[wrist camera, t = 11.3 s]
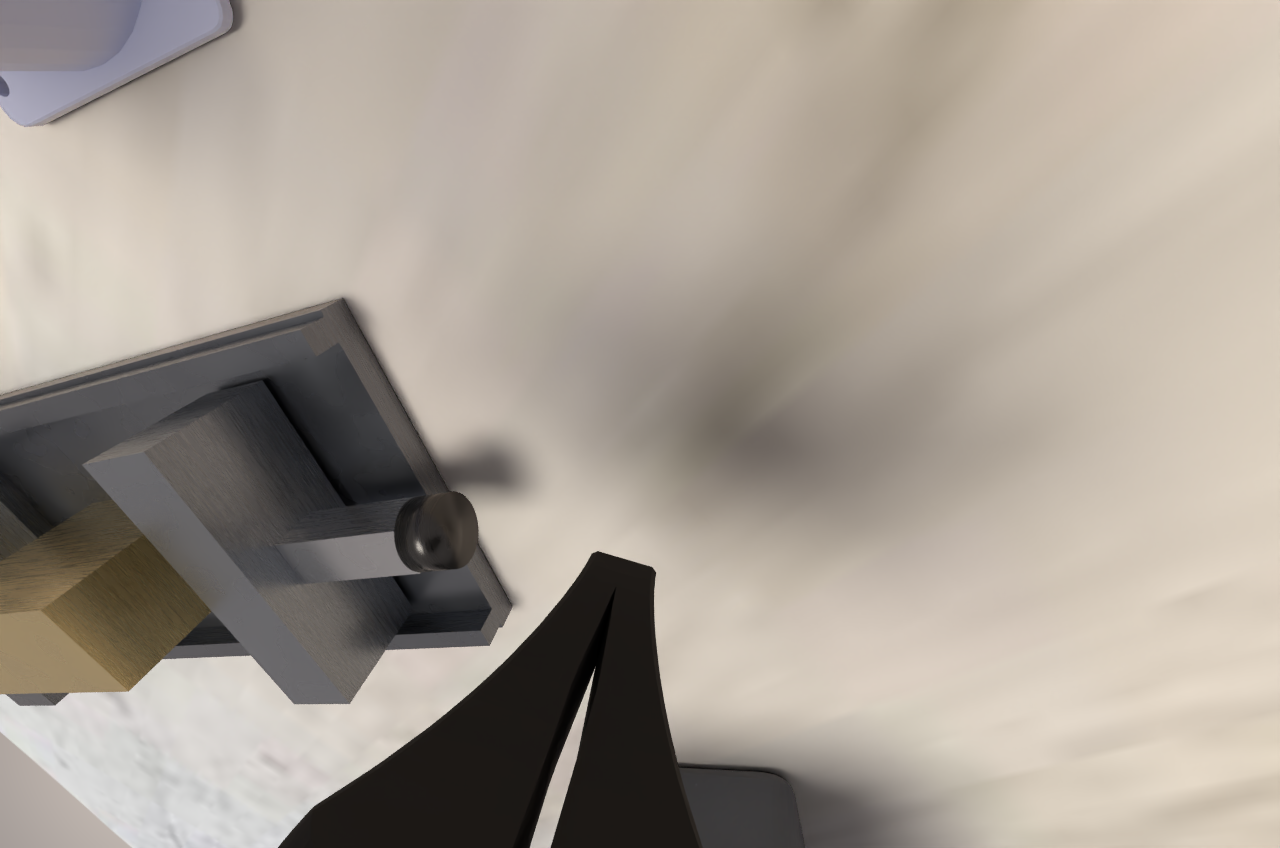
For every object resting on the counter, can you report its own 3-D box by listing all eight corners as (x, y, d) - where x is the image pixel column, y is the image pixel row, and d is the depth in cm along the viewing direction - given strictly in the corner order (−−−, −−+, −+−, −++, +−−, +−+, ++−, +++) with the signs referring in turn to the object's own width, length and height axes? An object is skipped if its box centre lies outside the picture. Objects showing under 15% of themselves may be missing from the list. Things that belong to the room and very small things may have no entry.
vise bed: (-59, 412, 24) (-247, 489, 19) (342, 298, 17) (195, 375, 13) (153, 629, 29) (46, 727, 25) (512, 606, 23) (451, 732, 19)
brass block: (92, 502, 23) (-97, 623, 18) (216, 480, 21) (40, 610, 16) (151, 567, 25) (-8, 694, 20) (272, 552, 22) (128, 691, 17)
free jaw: (200, 395, 19) (74, 466, 15) (411, 344, 16) (315, 416, 13) (358, 612, 23) (287, 704, 20) (542, 599, 20) (497, 702, 17)
